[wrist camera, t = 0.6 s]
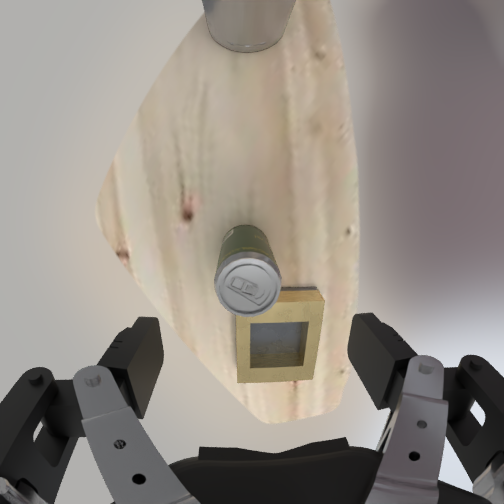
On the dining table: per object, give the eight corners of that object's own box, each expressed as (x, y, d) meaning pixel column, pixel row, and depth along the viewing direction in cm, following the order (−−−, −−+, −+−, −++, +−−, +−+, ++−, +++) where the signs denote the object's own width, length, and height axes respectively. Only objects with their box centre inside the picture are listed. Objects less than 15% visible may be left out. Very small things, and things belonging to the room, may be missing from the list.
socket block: (236, 288, 34) (235, 303, 30) (316, 286, 35) (324, 300, 31) (237, 364, 38) (237, 382, 34) (306, 361, 38) (312, 379, 34)
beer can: (214, 257, 33) (202, 304, 22) (233, 215, 32) (230, 243, 20) (256, 275, 34) (264, 328, 22) (276, 235, 33) (295, 272, 21)
